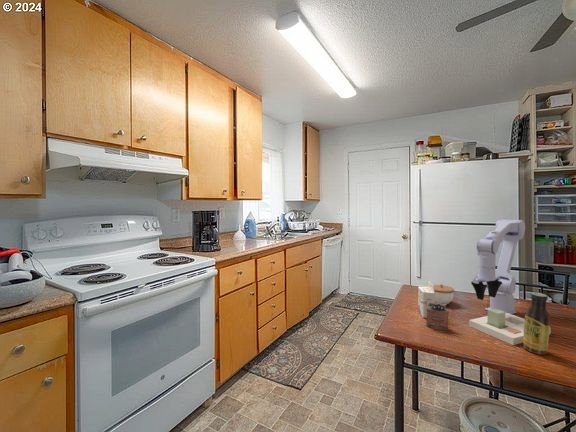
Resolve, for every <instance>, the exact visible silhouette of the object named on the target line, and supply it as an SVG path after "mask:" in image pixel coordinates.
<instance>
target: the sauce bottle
mask: <svg viewBox="0 0 576 432" xmlns="http://www.w3.org/2000/svg"><path fill="white" fill-rule="evenodd" d="M530 298H531V299H530V300H531V302H530V306H529V307H528V309H527V311H526V313H525V315H524V319H525V323H524V336H523V343H522V344H523V345H522V346H523V348H524V349H525V350H527V351H528V352H530V353H532V354H536V355H541V356H542V355H546V354H547V353H548V350H549V339H550V335H549V330H550V328H551V327H550V326H551V325H550V323H551V316H550V314H549V312H548V310H547V301H548V295H547V294H544V293H541V292H535V291H533V292H531V294H530Z"/></svg>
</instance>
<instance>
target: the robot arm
mask: <svg viewBox="0 0 576 432" xmlns="http://www.w3.org/2000/svg"><path fill="white" fill-rule="evenodd" d="M525 232H526V223H525V221H524V220H523V219H500V218H499V219H498V220H496V222H495V229H494V230H491V231H490V232H489V233H488V234H487V235H486V236H485V237H484V238H481V239H478V240H477V242H476V251H477V255H478V274H476V275H475V276H476V277H473V278H472V281H471V286H472V287H473V290H474V291H475V294H476V295H475V296H476V298H477V300H479V301H480V300H481V301H483V300H484V298H485V292H486V290H487V291H488V296H489V307H485V311H488V310H489V309H494V308H495V309H498V310H501V311H504V312H506V313H509V314H512V315H514V314H516V313H517V310H516V311H515V302H516V300H515V296H514V293H515V292H516V285H517V284H516V282H517V280H516V278H515V277H514V276H513V275H512V274H510V273H511V269H512V265H513V260H514V256H515V252H516V248H517V245H518V242H519V241H521V240H523V238H524V236H525ZM502 242H503V244H502V247H501V251H500V252H501V253H500V255H499V259H498V263H497V267H496V258H497V257H496V255H497V253H498V252H499V248H500V244H501V243H502ZM484 283H485V284H484Z"/></svg>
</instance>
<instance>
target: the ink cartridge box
mask: <svg viewBox="0 0 576 432" xmlns="http://www.w3.org/2000/svg"><path fill="white" fill-rule="evenodd" d="M434 285H435V284H433V283H432V282H431V281H430V280H428V286H418V287H417V288H418V289H417V290H418V291H417V292H418V293H417V294H418V297H417V298H418V301H417V304H418V305H417V311H418V312H419V314H420V315H421V316H422V318H423V319H427V310H426V308H427V307H432V306H428V303H435V291H434ZM431 286H432V287H431ZM435 304H436V303H435ZM434 308H435V307H434Z"/></svg>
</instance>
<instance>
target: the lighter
mask: <svg viewBox="0 0 576 432" xmlns="http://www.w3.org/2000/svg"><path fill="white" fill-rule="evenodd" d="M428 306H432V307H427V308H426V310H427V318H426V323H425V327H426V328H429V329H430V328H431V329H433V330H434V329H435V330H443V331H444V330H449V312H450V310H449V309H447V308H446V305H445V304H440V303H428ZM434 307H435V308H434Z"/></svg>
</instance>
